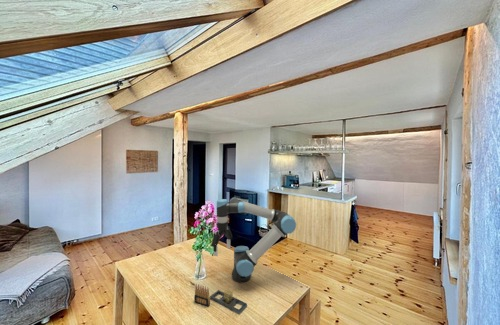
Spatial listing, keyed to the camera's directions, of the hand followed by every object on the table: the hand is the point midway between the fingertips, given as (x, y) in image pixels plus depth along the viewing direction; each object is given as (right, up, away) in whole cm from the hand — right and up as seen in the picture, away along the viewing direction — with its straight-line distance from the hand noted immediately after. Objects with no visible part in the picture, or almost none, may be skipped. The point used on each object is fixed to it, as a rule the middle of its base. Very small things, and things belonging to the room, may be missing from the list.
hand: (222, 251), depth 142 cm
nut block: (+5, -27, -13) cm, 30 cm away
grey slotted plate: (+5, -27, -13) cm, 30 cm away
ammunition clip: (-11, -27, -14) cm, 32 cm away
